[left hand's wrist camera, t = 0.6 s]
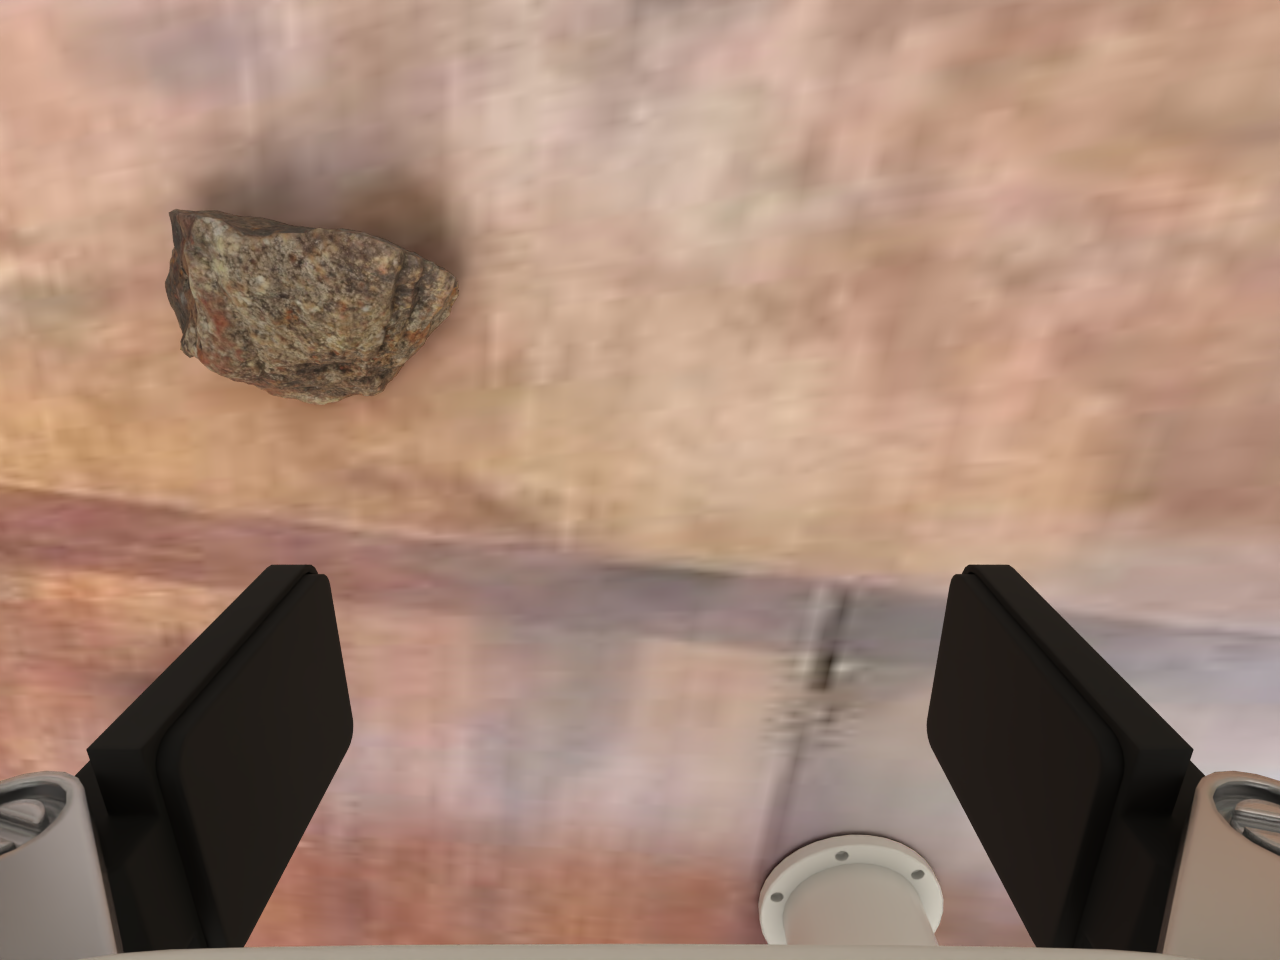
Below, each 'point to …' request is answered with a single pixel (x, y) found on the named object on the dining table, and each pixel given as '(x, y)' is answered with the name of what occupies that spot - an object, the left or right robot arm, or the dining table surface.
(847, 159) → the dining table surface
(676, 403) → the dining table surface
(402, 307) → the rock
